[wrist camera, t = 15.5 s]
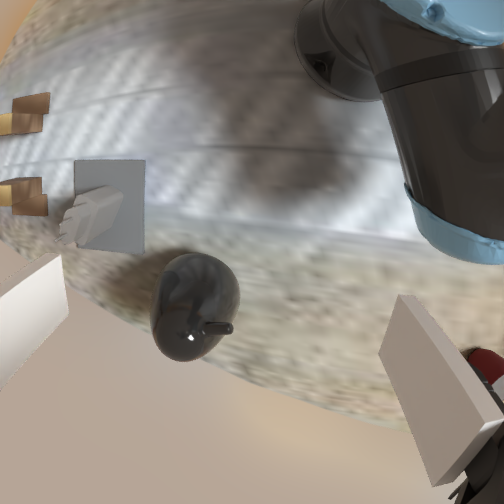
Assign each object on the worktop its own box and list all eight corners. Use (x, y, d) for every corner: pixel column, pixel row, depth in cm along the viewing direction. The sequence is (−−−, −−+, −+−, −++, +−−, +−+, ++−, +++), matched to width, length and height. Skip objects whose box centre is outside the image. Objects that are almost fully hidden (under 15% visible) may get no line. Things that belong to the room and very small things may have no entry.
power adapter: (91, 219, 39) (39, 248, 27) (105, 182, 37) (52, 201, 26) (109, 230, 39) (62, 263, 28) (125, 193, 38) (77, 216, 26)
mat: (77, 160, 37) (75, 160, 36) (145, 160, 37) (143, 160, 36) (80, 246, 41) (78, 247, 40) (144, 253, 41) (142, 254, 40)
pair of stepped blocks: (16, 99, 33) (-18, 97, 26) (50, 92, 33) (16, 88, 26) (15, 213, 39) (-17, 226, 32) (48, 215, 39) (16, 229, 32)
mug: (464, 387, 49) (486, 420, 39) (442, 379, 48) (464, 415, 38) (497, 345, 45) (524, 375, 36) (477, 333, 44) (507, 366, 35)
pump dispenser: (254, 302, 43) (252, 378, 28) (184, 322, 44) (156, 397, 30) (226, 231, 40) (207, 283, 25) (152, 258, 41) (104, 316, 27)
